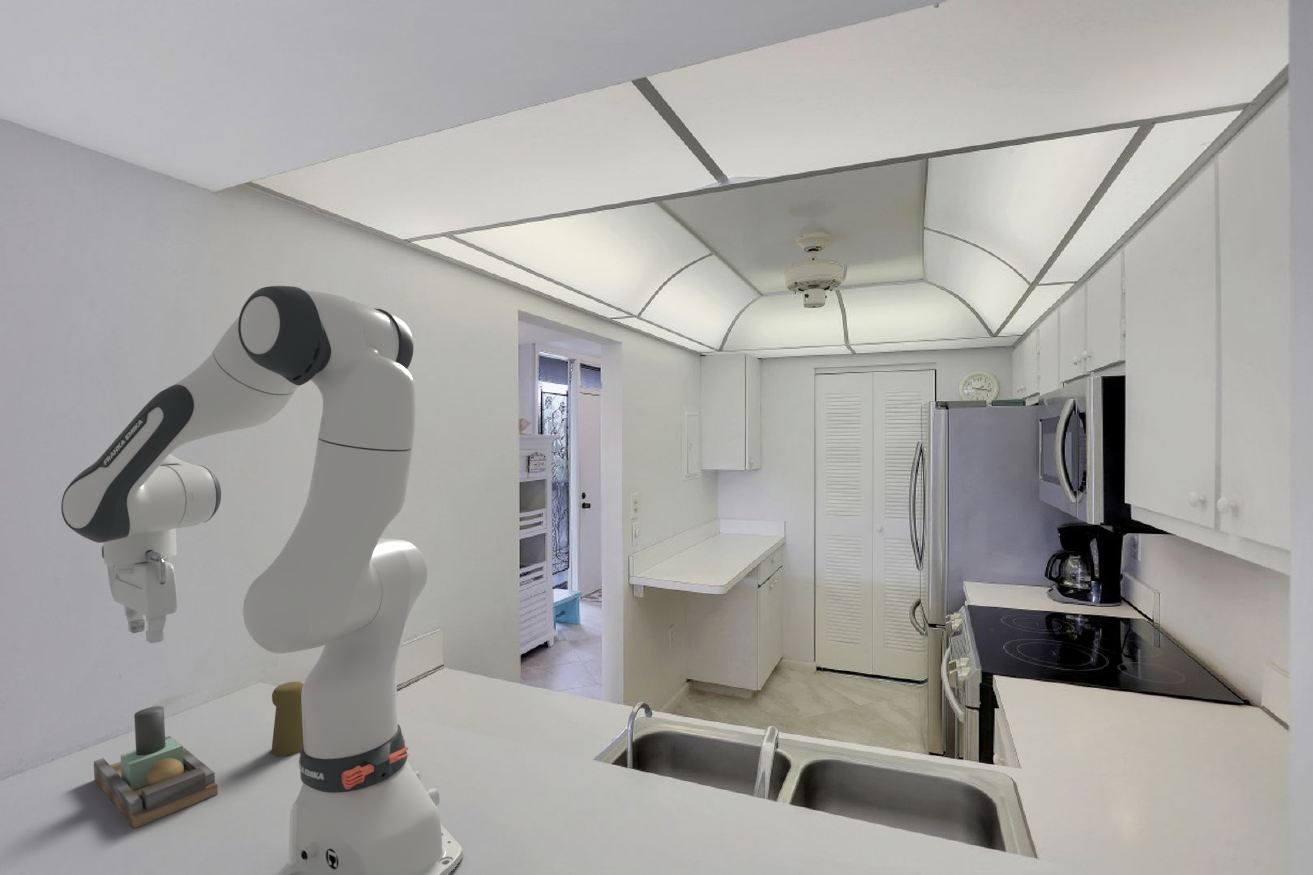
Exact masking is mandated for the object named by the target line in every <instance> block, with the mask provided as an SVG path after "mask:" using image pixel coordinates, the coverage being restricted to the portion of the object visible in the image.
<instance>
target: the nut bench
mask: <svg viewBox="0 0 1313 875" xmlns="http://www.w3.org/2000/svg"><path fill="white" fill-rule="evenodd" d="M169 738H173V737H171V735H169V736H168V735H167V736H165V740H166V739H169ZM183 762H184V773H183V774H181V775H178V776H176V777H173V778H170V779H168V780H165V781H162V782H160V783H157V784H155V785H152V786H148V785H145V786H143V787H140V788H137V789H135V790H132V789H131V788H130V787H129V785H128V784H127V783H126V782H125V781H124V780H123V779H122V776H121V761H118V762H115V763H112V764H109V762H108V761H107V760H106V759H105V758H99V759H96V760H93V776H94V781H95V782H96V783H97V785H98V786H99V787H100V789H102V791H103V792H104V793H105V795H106V796H107V797H108V798H109V799H110V800H111V801H112V803H113V804H114V805H115V806H116V808H117V809H118V810H119V811H120V812H121V814H122V815H123V816H124V818H125V819H126V820H127V821H128V823H129V824H130V825H131V826H132V827H133V829H137V828H139V827H141V826H145V825H146V824H149V823H150V822H154V821H156V820H158V819H161V818H163V817H165V816H168V815H171V814H172V813H176V812H178V811H180V810H182V809H185V808H188V807H190V806H192V805H195V804H197V803H199V802H202V801H205V800H207V799H210V798H212V797H214V796H216V795H219V794H218V793H219V791H218V790H219V788H218V783H217V782H216V776H215V775H216V773H215V771H213V770H212V769H211V768H209V767H208V766H207V765H206V764H205V763H204V762H202V761H201V760H200V759H198V758H197V756H195V755H194V754H192V753H191V751H189V750H188V749H187V748H186V747H184V746H183Z"/></svg>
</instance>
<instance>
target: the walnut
mask: <svg viewBox="0 0 1313 875" xmlns="http://www.w3.org/2000/svg"><path fill="white" fill-rule="evenodd" d="M183 773H184V767H183V765H182V763H181V762H180V761H179V760H177V759H173V758H167V759H163V760H161V761H159V762H157V763H156V764H155V765H154V766H153V767H152V768H151V769H150V771H149V772H148V775H147V784H148V786H152V785H155V784H157V783H160V782H162V781H165V780H168V779H170V778H173V777H176V776H178V775H181V774H183Z"/></svg>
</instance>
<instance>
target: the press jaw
mask: <svg viewBox="0 0 1313 875" xmlns="http://www.w3.org/2000/svg"><path fill="white" fill-rule="evenodd" d="M133 718H134V733H135V734H134V736H135V749H134V750H131V751H128V752H125V753H122V754H120V762H121V776H122V779H123V780H124V781H125V782H126V783H127V784H128V785H129V787H130V788H131V789H132V790H135V789H137V788H140V787H143V786H145V785H148V784H147V775H148V772H149V771H150V769H151V768H152V767H153V766H154V765H155V764H156V763H157V762H159V761H161V760H163V759H167V758H173V759H177V760H179V761H180V762H181V763H182V765H183V767H184V762H183V747H184V746H183V745H182V744H181V743H180V742H179V741H177V740H176V739H175V738H174V737H172V738H169V739H166V740H165V737H166V729H165V728H166V726H165V725H166V724H165V708H164V706H161V705H159V706H151V707H146V708H143V709H140V710H138V711H136V712H135V713H134V717H133Z"/></svg>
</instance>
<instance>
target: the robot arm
mask: <svg viewBox="0 0 1313 875" xmlns="http://www.w3.org/2000/svg"><path fill="white" fill-rule="evenodd" d="M240 310H241V311H240V312H239V313H240V314H239V316H238V317H237V318H236V319H235V320H234V321H233V323H231V325H230V326H229V327H228V328H227V330H226V331H225V332H224V334H223V335H222V337H221V338H220V339H219V341H218V343H217V344H216V345H215V347H214V349H213V350H212V352H211V353H210V354H209V355H208V357H207V358H206V359H205V360H204V361H203V362H202V363H201V364H200V365H199V366H198V367H197V368H196V369H195V370H193V371H192V372H191V373H189V374H188V375H187V376H185V377H184V378H182V379H181V380H179V381H178V382H177V383H175V384H173V385H170V386H168V387H167V388H165V389H163V390H162V391H160V392H158V393H157V394H156V395H154V396H153V397H152V398H151V399H150V400H149V401H148V402H147V403H146V405H144V406H143V407H142V409H141V410H140V411H138V413H137V414H136V415H135V417H134V418H132V420H131V421H130V422H129V424H127V425H126V427H125V428H124V429H123V430H122V432H121V433H120V434H119V435H118V436H117V437H116V438H115V440H114V441H113V442H112V443H111V444H110V446H108V448H107V449H106V450H105V451H104V453H102V454H101V456H100V457H99V458H98V459H96V461H95V462H94V463H93V464H91V465H90V466H88V467H86V468H85V469H84V470H82V471H81V472H80V473H79V474H78V475H76V476H75V478H73V480H72V481H71V482H70V483H69V485H67V487H66V489H65V490H64V493H63V495H62V499H61V506H60V508H61V515H62V518H63V520H64V523H65V524H66V525H67V527H69V528H70V529H71V530H72V531H74V532H75V533H77V534H78V535H80V536H81V537H83V538H85V539H87V540H90V541H91V542H95V543H97V544H100V543H101V544H102V543H103V545H102V546H101V549H100V550H101V557H102V559H103V562H104V564H105V565H106V567H107V568H106V569H107V575H108V581H109V582H108V583H109V588H110V593H111V597H112V599H113V601H114V602H116V603H118V604H120V605H122V606H123V608H124V610H123V611H124V614H125V617H126V621H127V627H128V628H127V629H128V632H129V633H132V634H137V633H142V632H144V631H145V641H147V642H148V643H149V644H155V643H159V642H162V641H163V640H164V639H165V638H164V628H165V625H166V622H167V615H172V614H175V613H176V612H177V610H178V607H179V597H178V587H177V578H176V577H177V576H176V572H175V568H174V566H173V564H172V563H171V562H168V559H169V558H173V557H175V556H177V555H178V549H177V548H178V547H177V543H178V542H177V529H180V528H181V529H182V528H188V527H194V526H197V525H198V526H199V525H200V524H203V523H206V522H208V521H210V520H212V518H213V517H214V515H215V514H216V513H217V512H218V510H219V507H220V505H221V501H222V489H221V483H220V482H219V479H218V478H217V476H216V475H215V473H213V472H212V471H211V470H210V469H208V468H207V467H206V466H203V465H199V464H193V463H190V462H187V461H184V460H182V459H180V458H177V457H176V456H174V455H172V453H173V452H174V451H176V450H177V449H178V448H180V447H181V446H185V445H186V444H189V443H190V442H194V441H196V440H199V439H203V438H205V437H209V436H214V435H218V434H221V433H227V432H232V431H238V430H243V429H244V430H245V429H248V428H253V427H256V426H259V425H262V424H265V423H267V422H268V421H270V420H272V419H273V418H274V417H276V415H278V414H279V413H280V412H281V411H282V410H283V409H284V408H285V407H286V406H287V405H288V403H289V402H290V401H291V399H292V398H293V396H294V395H295V393H296V392H297V390H298V388H299V387H300V386H302V385H305V384H306V383H308V382H309V381H310V382H312V383H313V384H314V385H315V386H316V387H317V389H318V390H319V392H320V395H321V398H322V413H321V419H320V423H319V431H318V436H317V443H316V449H315V458H314V462H313V463H314V464H313V469H312V475H311V480H310V484H309V485H310V487H309V490H308V491H309V492H308V496H307V499H306V502H305V504H304V507H303V509H302V513H301V514H300V517H299V519H298V522H297V523H296V526H295V527H294V529H293V531H292V532H291V534H290V536H289V538H288V540H287V542H286V544H284V545H285V546H284V547H283V549H282V550H281V552H280V553H279V554H278V555H277V557H276V558H275V559H274V560H273V562H272V563H270V565H269V566H268V567H267V568H266V569H265V570H264V571H263V572H262V573H261V574H260V575H259V576H258V577H256V578H255V579H254V580H253V581H252V582H251V584H250V586H249V587H248V589H247V590H246V593H245V597H244V600H243V607H242V615H243V621H244V622H243V623H244V624H245V625H244V626H245V628H246V631H247V632H248V634H249V635H250V637H251V639H252V640H253V642H255V643H256V644H257V645H258V646H259V647H261V648H263V649H264V650H266V651H268V652H270V653H274V654H287V653H296V652H300V651H307V650H312V649H317V648H320V647H322V646H324V647H323V649H322V652H321V654H320V656H319V659H318V660H317V662H316V664H314V666H313V668H312V669H311V670H310V671H309V673H308V674H307V677H306V678H305V680H304V682H303V684H304V685H303V688H302V693H301V700H302V722H303V746H302V747H301V750H300V752H299V760H298V768H299V771H300V776H299V777H300V780H301V782H302V784H301V788H300V790H299V793H298V796H297V797H296V799H295V801H294V803H293V804H292V807H291V808H290V812H289V831H288V832H289V835H288V863H287V865H286V866H284V868H283V869H282V870H281V871H280V872H279V873H278V875H447V874H449V873H450V872H451V871H452V870H453V869H454V870H455V869H456V868H457V867H456V866H458V865H459V864H460V863H459V862H461V861H462V859H463V857H464V851H463V847H462V846H461V845H460V843H459V842H458V841H457V840H456V839H455V838H454V836H452V835H451V833H449V831H448V830H447V829H446V828H445V827H444V826H443V825H442V824H441V819H440V818H441V817H440V813H439V810H438V808H437V807H438V806H439V805H440V794H439V792H438V790H437V788H435V787H431V788H429V789H427V790H426V788H425V787H424V785H423V783H422V782H421V774H420V772H419V771H418V770H415V771H414V770H413V768H412V767H411V765H410V763H409V761H407V760H408V756H409V754H408V752H407V751H408V750H409V747H408V746H406V745H405V744H406V739H405V737H404V735H403V732H402V729H401V726H400V724H399V723H398V699H397V698H398V690H397V688H398V687H397V679H398V666H399V658H400V654H401V653H400V652H401V649H402V643H403V640H404V637H405V633H406V628H407V624H408V621H409V618H410V615H411V612H412V610H413V608H414V605H415V603H416V601H417V600H418V598H419V596H420V595H421V594H422V592H423V591H424V589H425V586H426V584H427V580H428V566H427V562H426V560H425V556H424V555H423V554H422V552H421V551H420V549H419V548H418V547H417V546H416V545H415V544H413V543H412V542H409V541H407V540H404V539H397V538H381V537H382V535H383V534H384V532H385V530H386V529H387V528H388V526H389V524H390V523H391V522H392V521H393V520H394V519H395V518H396V517H397V516H398V515H399V513H400V512H401V510H402V509H403V506H404V503H405V501H406V495H407V488H408V480H409V474H410V468H411V467H410V466H411V462H412V461H411V460H412V459H411V458H412V454H413V445H414V438H415V430H416V429H415V426H416V425H415V424H416V394H415V393H416V392H415V381H414V379H413V375H412V374H411V373H410V371H409V370H408V369H409V367H410V365H411V363H412V360H413V355H414V340H413V335H412V332H411V330H410V328H409V326H408V325H407V324H406V323H405V322H404V321H403V320H402V319H401V318H399V317H397V316H396V315H394V314H392V313H391V312H388V311H387V310H384V309H382V308H377V307H375V308H373V307H371V306H368V305H365V304H362V303H359V302H356V301H354V300H350V299H348V298H346V297H344V296H341V295H336V294H332V293H331V294H330V293H326V292H321V291H312V290H304V289H302V288H301V287H297V286H293V285H289V286H288V285H273V286H272V285H270V286H264V287H261V288H259V289H257V290H256V291H254V292H253V293H252V294H251V295H250V296H249V297H248V298H247V300H246V301H245V303H244V305H243V306H242V307H241V309H240ZM144 616H145V619H144ZM145 621H146V622H147V629H146V627H145V625H146V624H145ZM145 629H146V630H145ZM460 860H461V861H460ZM458 863H459V864H458ZM457 864H458V865H457ZM455 867H456V868H455ZM454 870H453V871H454ZM453 871H452V872H453ZM452 872H451V873H452ZM451 873H450V874H451ZM450 874H449V875H450Z"/></svg>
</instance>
